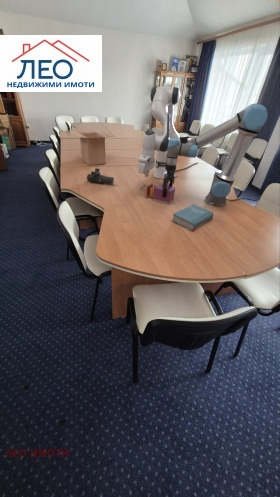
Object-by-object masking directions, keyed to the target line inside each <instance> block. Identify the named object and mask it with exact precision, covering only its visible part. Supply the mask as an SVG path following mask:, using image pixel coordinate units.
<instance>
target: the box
mask: <svg viewBox="0 0 280 497" xmlns="http://www.w3.org/2000/svg"><path fill="white" fill-rule="evenodd" d="M70 133H71V134H72V135H74V136H75V137H77V138H79V144H80V153H81V160H83V162H85V163H86V165H87V166H95V165H97V166H98V165H106V163H107V162H106V158H107V157H106V138H113V137H114V136H113V135H111V134H109V133H108V132H105V131H98V132H96V131H95V130H92V129H91V130H77V132H76V131H70Z"/></svg>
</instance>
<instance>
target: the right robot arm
mask: <svg viewBox="0 0 280 497" xmlns="http://www.w3.org/2000/svg"><path fill="white" fill-rule="evenodd" d="M267 120H268V110H267V108H266V106H264V105H263V104H261V103H252V104H249V105H248V106H247V107H244V108H243V109H241V110H240V111H239V112H237V113H235V115H234V116H233V117H231V118H230V119H227V120H225V121H224V122H222V123H220V124H218V125H216V126H215V127H212V128H210V129H208V130H207V131H206V132H204V133H201V134H200V135H197V136H196V137H194V138H192V139H189V140H188V141H186V143H184V142H183V143H182V142H181V139H175V138H172V139H170V140H169V143H168V149H167V158H166V165H165V169H166V170H167V173H166V174H165V177H164V179H163V182H162V184H163V185H162V188H163V193H162V197H165V198H166V193H167V186H172V187H174V184H175V177H174V174H175V173H176V172H175V171H177V164H178V158H179V157H186V158H190V159H191V158H192V159H193V158H194V159H196V158H197V156H198V151H199V150H201V148H203V147H206V146H208V145H210V144H211V143H214V142H215V141H218V140H220V139H221V138H223V137H226V136H227V135H229V134H232V133H233V132H236V131H238V133H237V135H236V137H235V140H234V142H233V144H232V147H231V149H230V151H229V153H228V155H227V157H226V159H225V162H224V164H223V166H222V169H221V170H216V171H215V172H214V174H213V178H212V182H211V186H210V188H209V192H208V193H207V195H206V196H205V199H204V200H205V201H204V202H205V203H206V204H208V205H210V206H213V207H224V206H226V204H227V201H229V202H235V201H239V200H248V201H252V202H257V201H259V200H261V198H260V197H258V198H257V199H251V198H246V197H241V198H236V199H229V198H227V197H228V196H229V195H230V193H231V190H232V189H231V188H232V186H233V184H234V182H235V180H236V179H235V175H236V173H237V170H238V169H239V167H240V165H241V162H242V161H243V159H244V157H245V154H246V153H247V150H248V148H249V147H250V144H251V142H252V141H253V139H254V137H256V136H258V134H259V132H260V130H261V128H262V127H263V126H264V125H265V123H266V122H267Z"/></svg>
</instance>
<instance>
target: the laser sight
mask: <svg viewBox="0 0 280 497" xmlns="http://www.w3.org/2000/svg"><path fill="white" fill-rule="evenodd" d="M100 170H101V168H94V171H90V173H87V175H86V180H87V182H90V183H96V184H102V185H104V184H108V185H114V181H115V178H114V176H108V175H107V176H106V175H104V174H101V172H100Z"/></svg>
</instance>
